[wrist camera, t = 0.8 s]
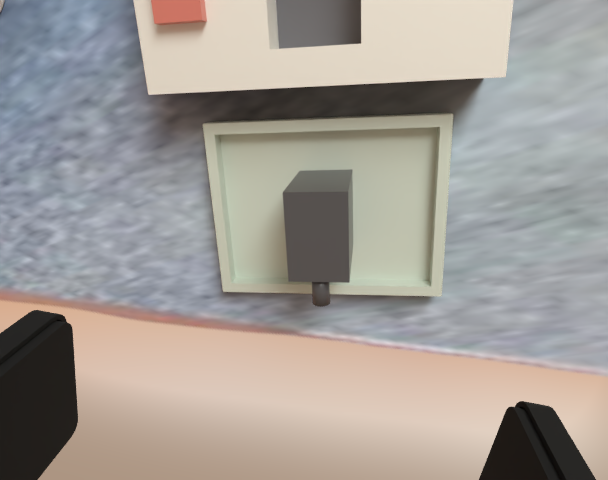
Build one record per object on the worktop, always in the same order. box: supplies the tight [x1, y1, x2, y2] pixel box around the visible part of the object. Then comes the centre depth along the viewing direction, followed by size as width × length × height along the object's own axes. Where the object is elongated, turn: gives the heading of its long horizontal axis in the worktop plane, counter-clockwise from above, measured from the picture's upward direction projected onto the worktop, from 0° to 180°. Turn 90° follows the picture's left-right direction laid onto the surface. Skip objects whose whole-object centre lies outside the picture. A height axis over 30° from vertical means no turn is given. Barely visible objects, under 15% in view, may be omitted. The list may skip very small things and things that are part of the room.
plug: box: [283, 170, 353, 306], centre depth 31 cm, size 4×8×7 cm, turn 3°
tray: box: [203, 113, 453, 296], centre depth 34 cm, size 18×14×2 cm
